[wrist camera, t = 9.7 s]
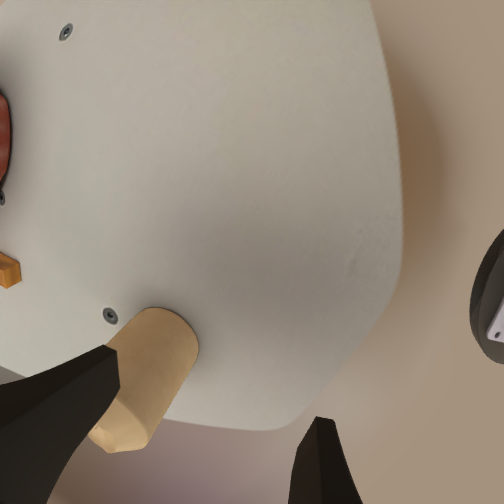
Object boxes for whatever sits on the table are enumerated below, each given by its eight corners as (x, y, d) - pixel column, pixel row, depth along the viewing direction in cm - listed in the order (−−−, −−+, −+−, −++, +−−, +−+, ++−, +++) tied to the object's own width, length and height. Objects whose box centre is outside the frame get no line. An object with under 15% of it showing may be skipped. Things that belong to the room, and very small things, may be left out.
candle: (122, 330, 22) (43, 410, 13) (157, 292, 20) (64, 382, 11) (172, 377, 23) (112, 471, 13) (215, 347, 21) (154, 460, 11)
